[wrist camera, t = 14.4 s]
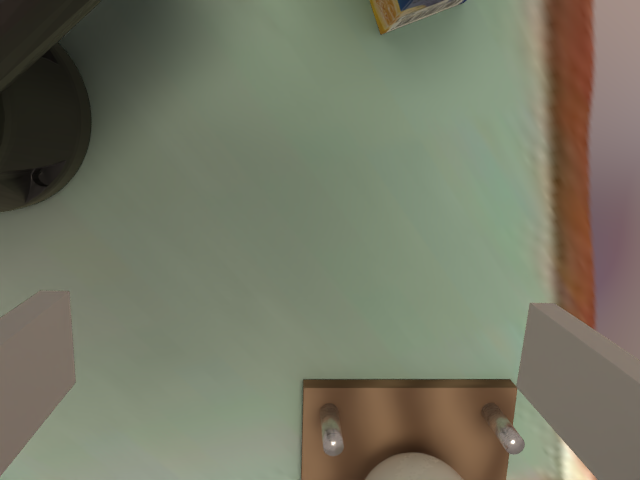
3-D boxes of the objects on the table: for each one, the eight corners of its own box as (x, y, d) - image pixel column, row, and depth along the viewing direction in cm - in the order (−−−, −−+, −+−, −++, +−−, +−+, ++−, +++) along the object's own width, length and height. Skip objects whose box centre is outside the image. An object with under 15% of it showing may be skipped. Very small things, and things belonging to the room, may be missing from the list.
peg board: (299, 557, 48) (299, 570, 46) (303, 379, 44) (303, 388, 42) (488, 553, 49) (495, 565, 47) (509, 379, 45) (517, 387, 43)
